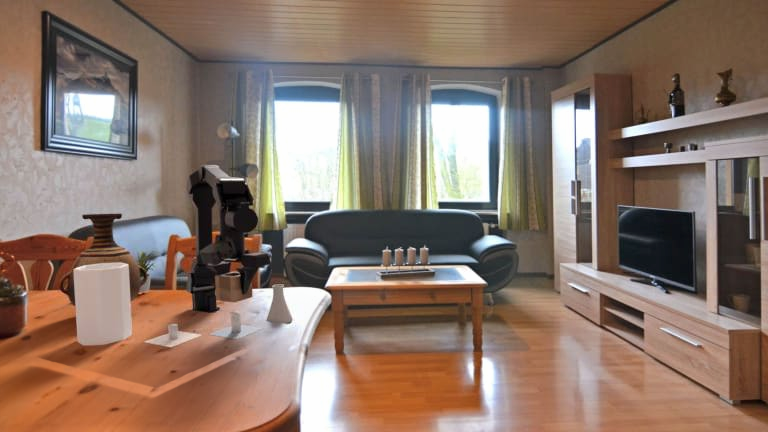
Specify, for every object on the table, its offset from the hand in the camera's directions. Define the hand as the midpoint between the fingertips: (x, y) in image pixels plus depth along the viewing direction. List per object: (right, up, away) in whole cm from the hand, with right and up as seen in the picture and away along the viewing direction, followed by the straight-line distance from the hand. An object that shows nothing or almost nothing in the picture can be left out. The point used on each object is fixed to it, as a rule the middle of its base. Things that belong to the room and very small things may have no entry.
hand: (234, 293), depth 111 cm
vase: (-45, -10, +22) cm, 51 cm away
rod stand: (-13, -11, -4) cm, 18 cm away
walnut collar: (0, -1, 0) cm, 1 cm away
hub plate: (0, -11, +1) cm, 11 cm away
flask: (+8, -10, +12) cm, 18 cm away
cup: (-30, -12, -3) cm, 32 cm away
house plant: (-49, -9, +51) cm, 71 cm away
